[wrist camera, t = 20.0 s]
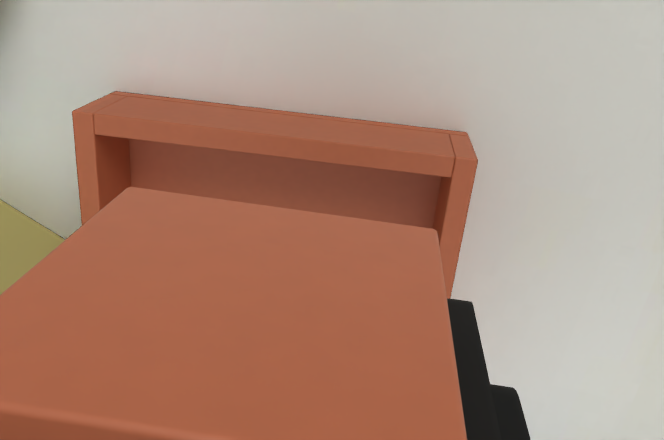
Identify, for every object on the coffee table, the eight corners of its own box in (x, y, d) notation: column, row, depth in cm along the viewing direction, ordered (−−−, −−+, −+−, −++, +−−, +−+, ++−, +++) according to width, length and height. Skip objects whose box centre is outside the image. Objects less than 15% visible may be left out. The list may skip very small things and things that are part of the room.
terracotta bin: (467, 131, 24) (478, 159, 21) (413, 414, 30) (415, 470, 27) (114, 90, 25) (71, 110, 22) (130, 373, 31) (98, 423, 27)
